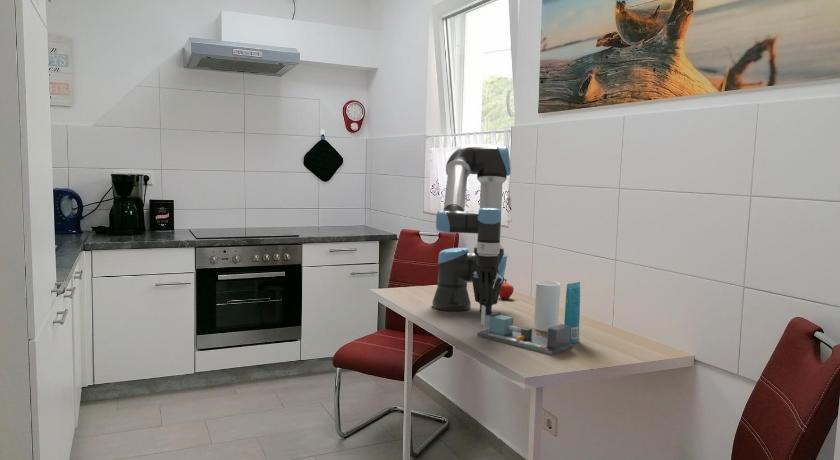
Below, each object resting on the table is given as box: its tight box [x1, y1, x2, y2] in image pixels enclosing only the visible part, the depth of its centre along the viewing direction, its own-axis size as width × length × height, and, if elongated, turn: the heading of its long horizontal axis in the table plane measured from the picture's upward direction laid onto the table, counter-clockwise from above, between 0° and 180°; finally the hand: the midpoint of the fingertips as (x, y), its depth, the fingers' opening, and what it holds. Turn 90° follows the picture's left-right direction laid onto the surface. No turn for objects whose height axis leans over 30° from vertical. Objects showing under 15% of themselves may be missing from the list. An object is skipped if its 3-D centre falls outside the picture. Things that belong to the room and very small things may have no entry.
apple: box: [499, 278, 515, 300], centre depth 263 cm, size 8×7×10 cm
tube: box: [563, 281, 581, 344], centre depth 199 cm, size 7×5×19 cm, turn 140°
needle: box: [516, 327, 533, 341], centre depth 196 cm, size 2×7×3 cm, turn 137°
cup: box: [533, 280, 561, 333], centre depth 214 cm, size 8×8×16 cm
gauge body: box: [488, 311, 524, 335], centre depth 202 cm, size 11×5×6 cm, turn 47°
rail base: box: [477, 323, 573, 356], centre depth 198 cm, size 28×12×7 cm, turn 47°
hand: (485, 324), depth 208 cm, fingers closed
